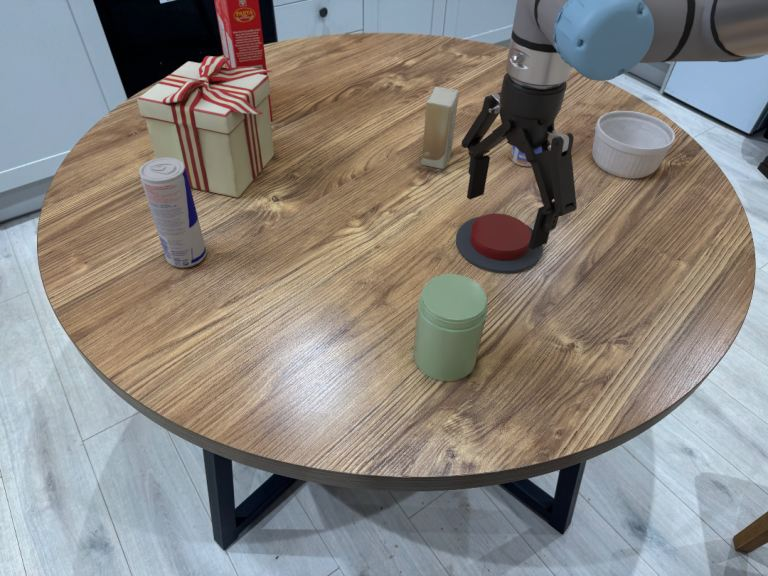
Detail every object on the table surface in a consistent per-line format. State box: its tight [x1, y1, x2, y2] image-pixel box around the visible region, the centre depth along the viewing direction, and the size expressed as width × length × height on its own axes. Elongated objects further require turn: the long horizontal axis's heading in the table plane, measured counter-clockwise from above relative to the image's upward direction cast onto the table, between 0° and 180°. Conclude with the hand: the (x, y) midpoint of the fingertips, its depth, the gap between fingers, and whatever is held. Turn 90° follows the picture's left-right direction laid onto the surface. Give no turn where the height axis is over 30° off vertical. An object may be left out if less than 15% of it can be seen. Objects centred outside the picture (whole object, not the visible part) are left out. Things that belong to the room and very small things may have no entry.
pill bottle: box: [510, 145, 542, 168], centre depth 100 cm, size 5×5×10 cm
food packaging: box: [213, 0, 274, 122], centre depth 106 cm, size 15×5×25 cm, turn 23°
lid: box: [470, 213, 531, 261], centre depth 85 cm, size 9×9×2 cm
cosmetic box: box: [420, 86, 460, 170], centre depth 99 cm, size 6×4×12 cm
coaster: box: [455, 215, 544, 275], centre depth 86 cm, size 13×13×1 cm
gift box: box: [136, 55, 275, 199], centre depth 93 cm, size 17×18×17 cm
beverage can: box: [138, 158, 207, 269], centre depth 77 cm, size 6×6×15 cm
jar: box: [412, 273, 489, 382], centre depth 67 cm, size 8×8×11 cm
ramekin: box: [591, 110, 676, 180], centre depth 101 cm, size 13×13×7 cm
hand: (504, 219), depth 83 cm, fingers open, 13 cm apart
